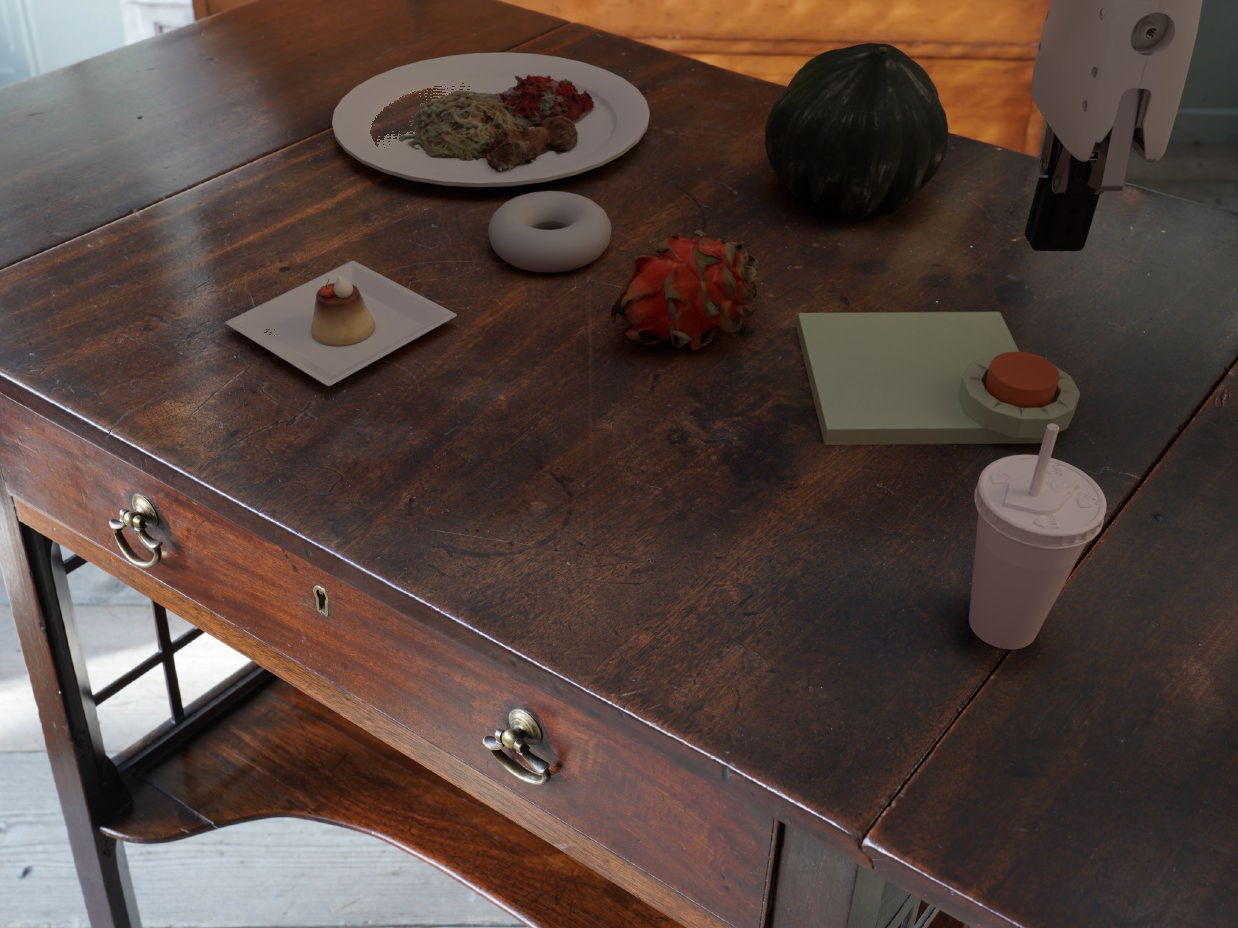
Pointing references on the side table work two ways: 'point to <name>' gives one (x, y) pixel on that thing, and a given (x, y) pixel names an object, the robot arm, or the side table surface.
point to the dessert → (340, 321)
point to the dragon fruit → (687, 291)
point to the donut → (549, 231)
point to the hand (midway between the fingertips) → (1053, 243)
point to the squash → (858, 130)
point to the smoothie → (1028, 541)
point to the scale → (918, 380)
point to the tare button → (1022, 379)
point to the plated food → (495, 120)
